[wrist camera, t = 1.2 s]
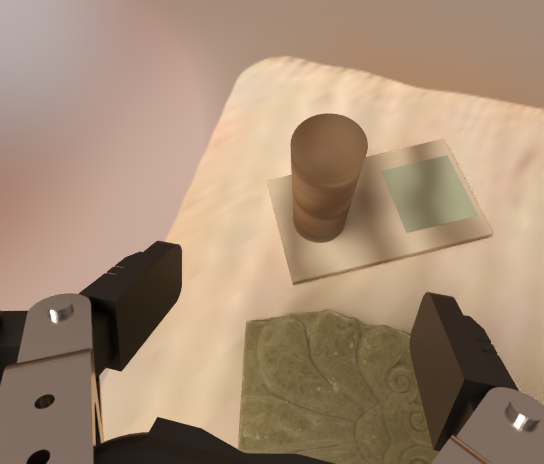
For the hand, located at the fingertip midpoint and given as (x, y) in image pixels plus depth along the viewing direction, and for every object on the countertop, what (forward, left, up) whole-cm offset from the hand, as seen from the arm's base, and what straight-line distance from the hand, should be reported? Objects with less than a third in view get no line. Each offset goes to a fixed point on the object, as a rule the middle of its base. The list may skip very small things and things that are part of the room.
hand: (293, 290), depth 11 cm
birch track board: (-10, -11, -21) cm, 26 cm away
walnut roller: (-5, -11, -20) cm, 23 cm away
